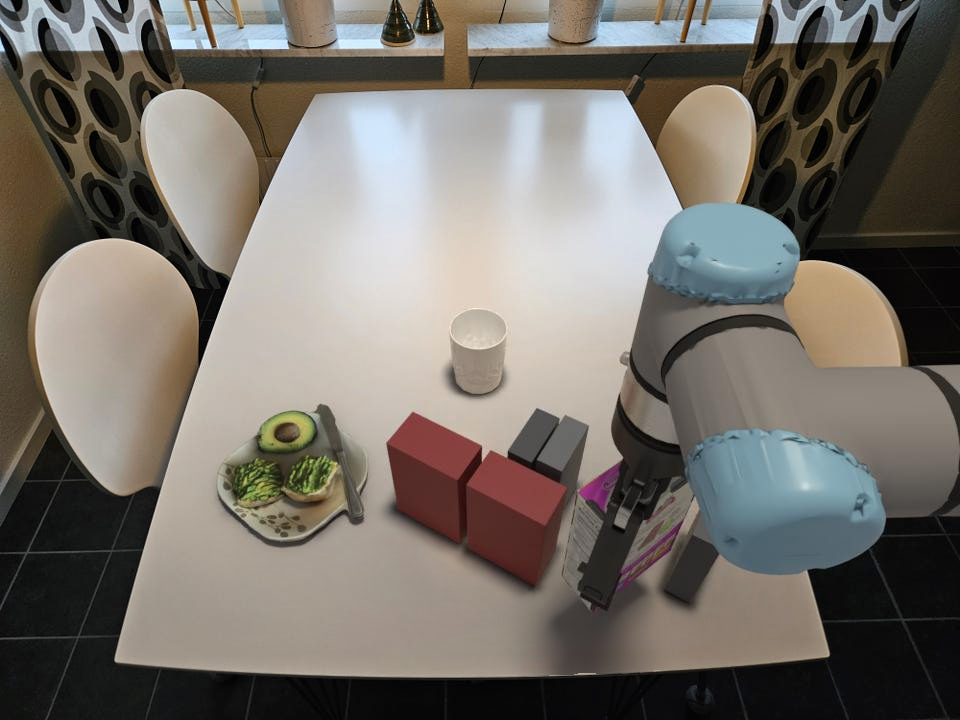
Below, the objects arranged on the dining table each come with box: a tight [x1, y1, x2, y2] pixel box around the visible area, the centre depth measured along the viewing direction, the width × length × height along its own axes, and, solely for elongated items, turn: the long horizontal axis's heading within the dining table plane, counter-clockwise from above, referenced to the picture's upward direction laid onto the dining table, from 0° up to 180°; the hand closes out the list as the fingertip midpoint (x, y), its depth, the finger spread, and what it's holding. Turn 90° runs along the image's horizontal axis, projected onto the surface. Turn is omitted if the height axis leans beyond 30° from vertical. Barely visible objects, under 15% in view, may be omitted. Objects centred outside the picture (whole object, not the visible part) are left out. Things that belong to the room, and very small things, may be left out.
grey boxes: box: [506, 407, 720, 604], centre depth 73 cm, size 7×24×13 cm, turn 59°
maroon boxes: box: [385, 411, 567, 587], centre depth 72 cm, size 5×19×14 cm, turn 59°
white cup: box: [448, 307, 509, 395], centre depth 90 cm, size 8×8×10 cm
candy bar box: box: [561, 459, 696, 613], centre depth 59 cm, size 11×5×16 cm, turn 126°
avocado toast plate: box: [216, 403, 369, 543], centre depth 80 cm, size 19×18×5 cm
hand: (621, 545), depth 62 cm, fingers closed on candy bar box, 12 cm apart
